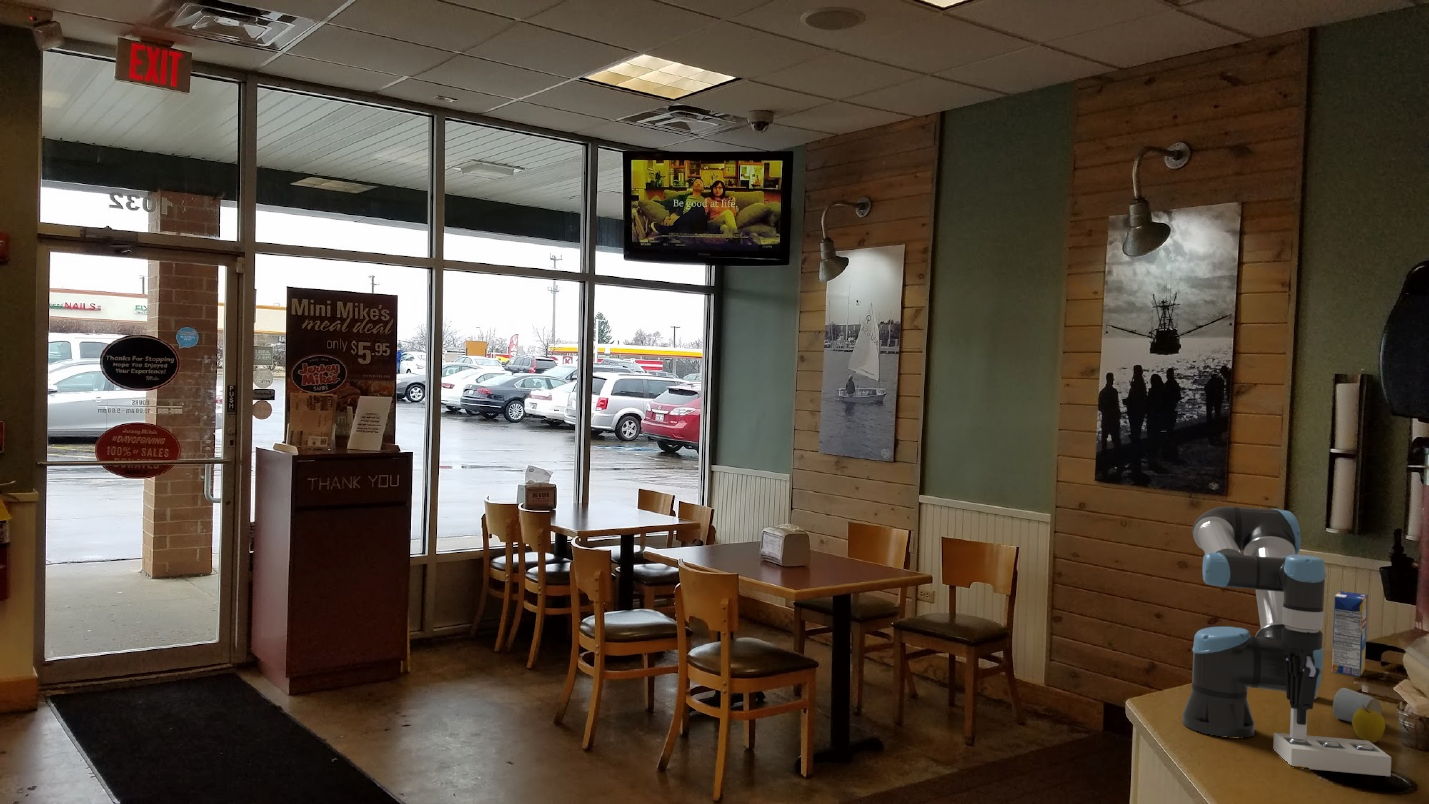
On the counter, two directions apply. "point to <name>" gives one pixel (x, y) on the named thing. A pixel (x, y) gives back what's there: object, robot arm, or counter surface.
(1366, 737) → the apple
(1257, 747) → the counter surface
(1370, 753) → the console
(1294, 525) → the robot arm
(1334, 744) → the knob mid
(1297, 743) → the knob
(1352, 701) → the ceramic mug
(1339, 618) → the beverage box
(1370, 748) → the knob
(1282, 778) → the counter surface
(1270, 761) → the counter surface
